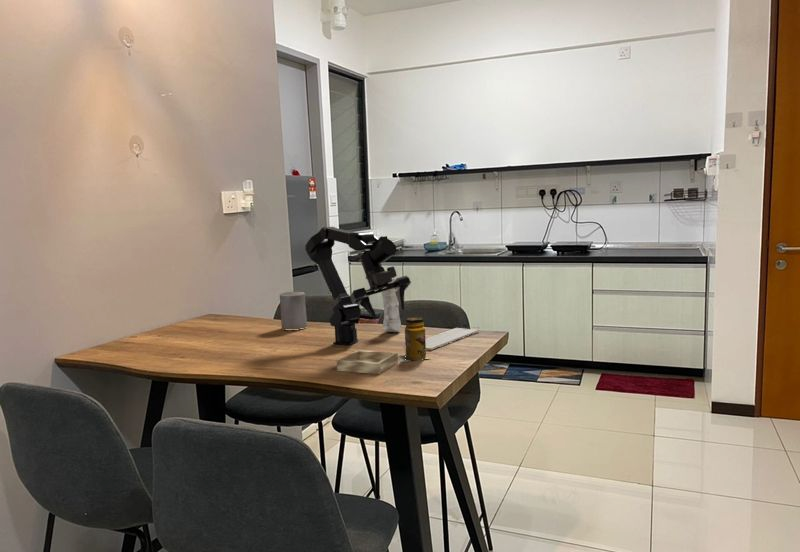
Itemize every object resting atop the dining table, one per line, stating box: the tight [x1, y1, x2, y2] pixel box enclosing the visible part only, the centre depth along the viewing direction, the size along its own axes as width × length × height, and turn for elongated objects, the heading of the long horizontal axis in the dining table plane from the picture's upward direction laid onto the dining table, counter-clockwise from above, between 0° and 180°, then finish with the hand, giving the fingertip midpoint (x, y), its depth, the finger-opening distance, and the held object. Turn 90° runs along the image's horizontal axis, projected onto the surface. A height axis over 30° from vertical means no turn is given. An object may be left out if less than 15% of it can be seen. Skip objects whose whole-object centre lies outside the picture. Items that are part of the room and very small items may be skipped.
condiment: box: [398, 316, 427, 363], centre depth 176 cm, size 7×8×12 cm
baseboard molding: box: [403, 324, 480, 351], centre depth 200 cm, size 31×3×12 cm
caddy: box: [336, 349, 399, 375], centre depth 169 cm, size 13×13×3 cm
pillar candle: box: [279, 291, 308, 330], centre depth 229 cm, size 10×10×15 cm
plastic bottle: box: [381, 277, 402, 333], centre depth 214 cm, size 6×7×20 cm
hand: (389, 315), depth 183 cm, fingers open, 9 cm apart
